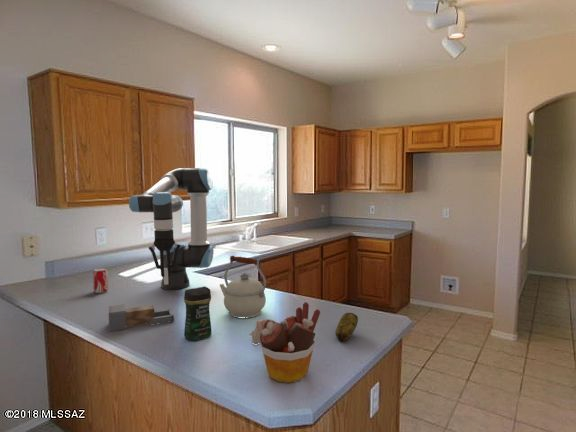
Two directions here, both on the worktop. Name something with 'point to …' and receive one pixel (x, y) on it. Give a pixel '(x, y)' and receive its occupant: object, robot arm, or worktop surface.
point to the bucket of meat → (288, 345)
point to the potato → (346, 326)
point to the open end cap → (162, 316)
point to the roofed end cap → (117, 317)
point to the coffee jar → (197, 313)
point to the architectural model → (255, 336)
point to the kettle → (244, 292)
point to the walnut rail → (139, 315)
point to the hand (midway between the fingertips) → (166, 283)
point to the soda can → (100, 280)
